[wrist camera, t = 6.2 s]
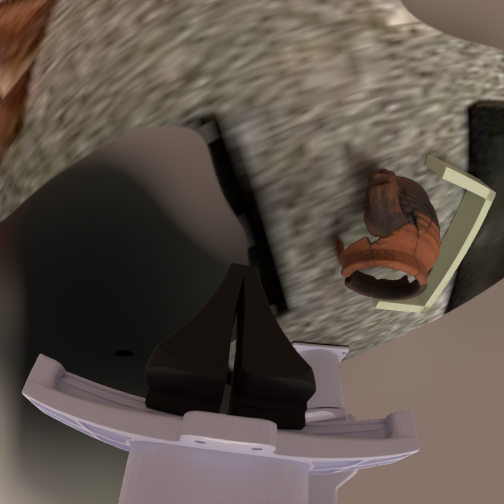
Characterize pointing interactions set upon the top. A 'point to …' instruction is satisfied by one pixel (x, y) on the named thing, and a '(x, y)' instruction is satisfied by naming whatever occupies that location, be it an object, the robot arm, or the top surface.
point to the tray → (449, 236)
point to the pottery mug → (393, 239)
